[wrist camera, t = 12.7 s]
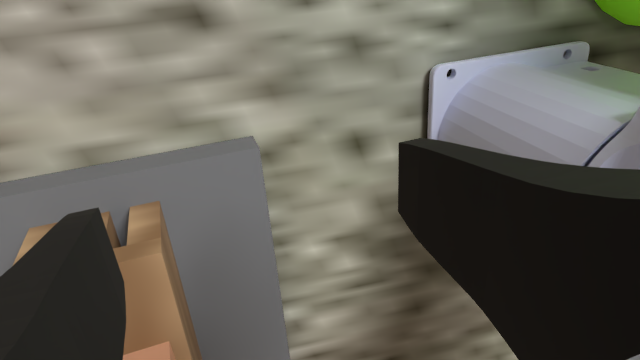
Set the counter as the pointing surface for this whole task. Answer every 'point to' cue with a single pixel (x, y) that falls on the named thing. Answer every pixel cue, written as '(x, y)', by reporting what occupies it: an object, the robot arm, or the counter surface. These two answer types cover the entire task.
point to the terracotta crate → (152, 353)
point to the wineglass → (622, 10)
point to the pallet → (146, 282)
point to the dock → (180, 234)
